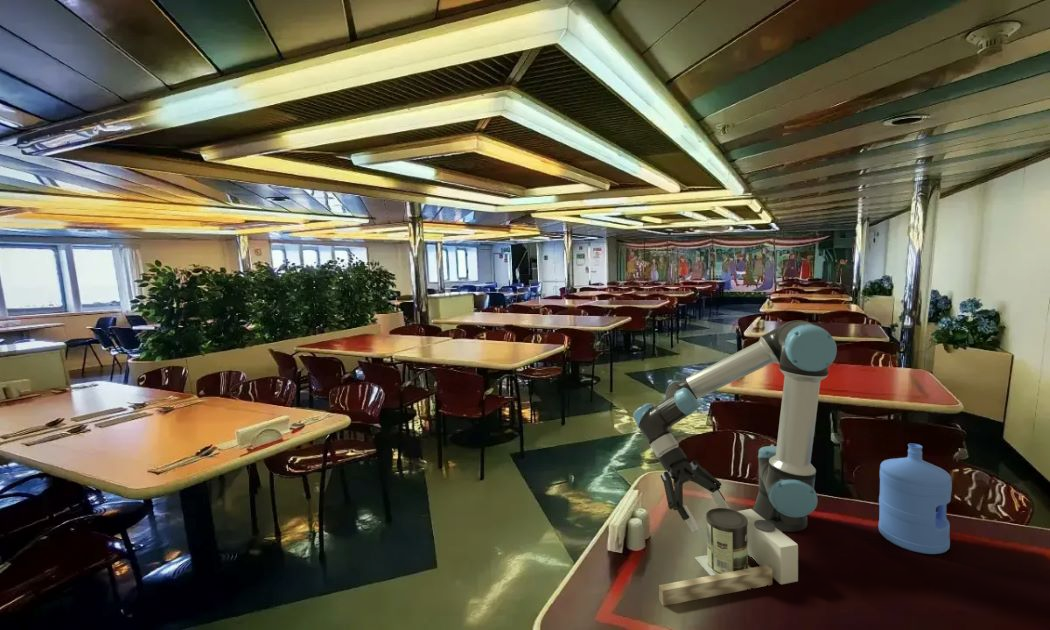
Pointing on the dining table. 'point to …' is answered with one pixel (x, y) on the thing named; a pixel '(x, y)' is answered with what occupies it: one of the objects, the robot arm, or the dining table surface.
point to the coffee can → (726, 540)
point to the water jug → (914, 503)
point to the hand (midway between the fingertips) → (713, 522)
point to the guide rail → (715, 585)
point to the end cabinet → (767, 549)
